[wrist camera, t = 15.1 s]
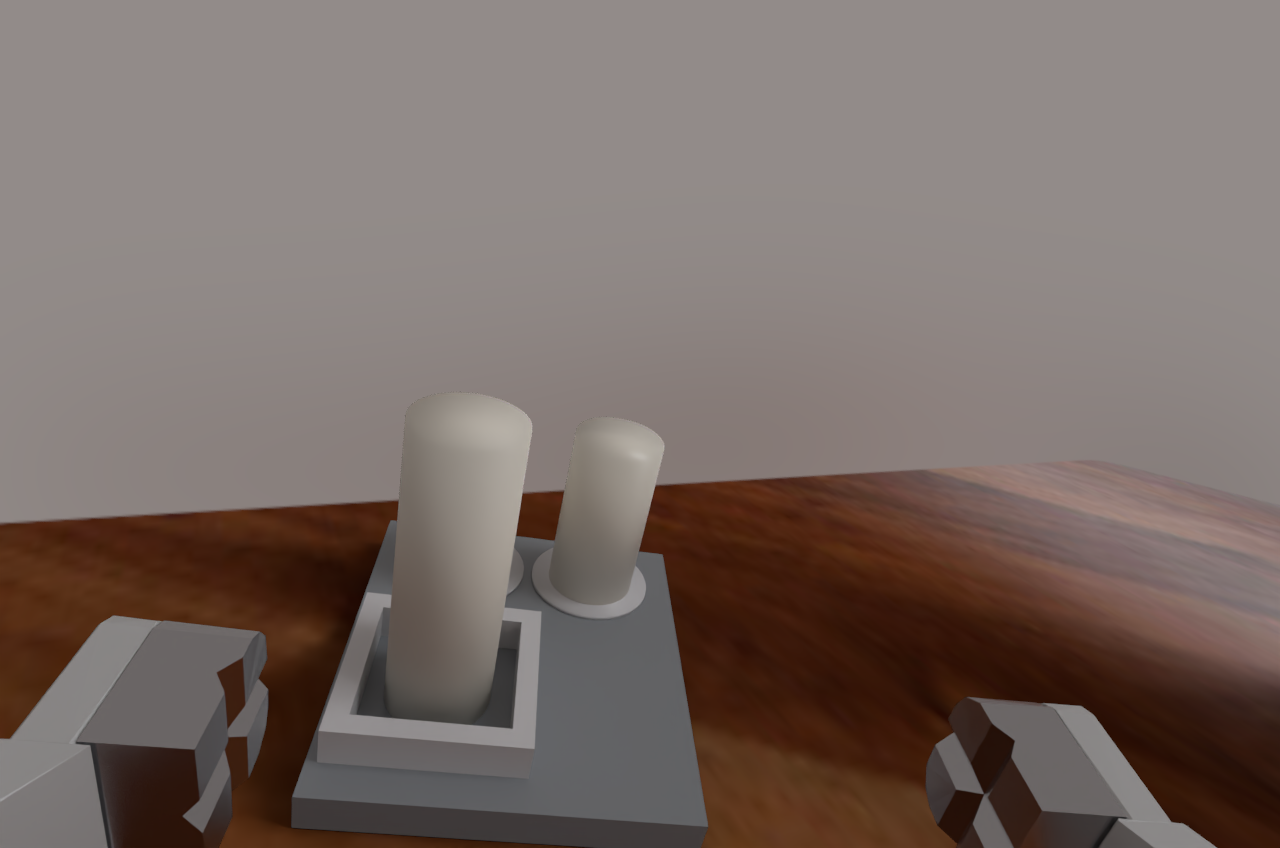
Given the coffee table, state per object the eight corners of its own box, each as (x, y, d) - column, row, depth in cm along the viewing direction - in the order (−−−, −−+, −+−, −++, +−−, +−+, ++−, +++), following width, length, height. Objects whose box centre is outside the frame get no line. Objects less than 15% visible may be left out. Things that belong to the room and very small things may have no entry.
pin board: (656, 577, 43) (698, 421, 39) (698, 854, 29) (770, 655, 25) (388, 544, 41) (402, 375, 37) (291, 827, 27) (296, 603, 23)
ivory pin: (494, 659, 33) (534, 401, 28) (485, 738, 30) (530, 459, 24) (394, 651, 33) (416, 384, 27) (373, 730, 29) (394, 442, 24)
